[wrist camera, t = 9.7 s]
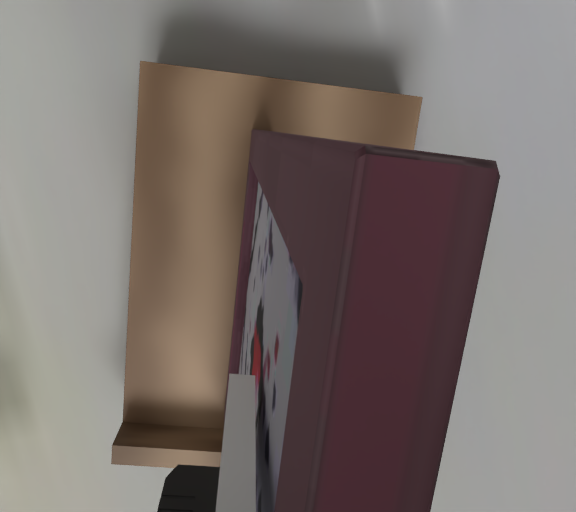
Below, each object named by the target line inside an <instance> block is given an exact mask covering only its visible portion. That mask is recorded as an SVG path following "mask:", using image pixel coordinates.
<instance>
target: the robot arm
mask: <svg viewBox="0 0 576 512" xmlns="http://www.w3.org/2000/svg"><path fill="white" fill-rule="evenodd" d="M158 512H256V429H255V376H254V375H241V374H229V383H228V393H227V403H226V413H225V423H224V433H223V443H222V453H221V463H220V467H212V466H196V465H180V464H178V465H177V466H176V467H175V468H174V469H173V471H172V472H171V473H170V474H169V475H168V476H167V477H166V479H165V483H164V487H163V491H162V495H161V499H160V502H159V506H158Z"/></svg>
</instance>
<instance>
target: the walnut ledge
mask: <svg viewBox="0 0 576 512" xmlns="http://www.w3.org/2000/svg"><path fill="white" fill-rule="evenodd" d="M421 103H422V97H417V96H410V95H402V94H394V93H386V92H378V91H371V90H363V89H355V88H347V87H340V86H332V85H324V84H316V83H308V82H301V81H293V80H285V79H277V78H269V77H262V76H254V75H246V74H238V73H231V72H223V71H215V70H207V69H199V68H192V67H184V66H176V65H168V64H160V63H153V62H145V61H140V76H139V97H138V117H137V138H136V159H135V179H134V200H133V221H132V241H131V262H130V283H129V303H128V324H127V345H126V365H125V386H124V407H123V423H122V425H121V427H120V429H119V431H118V434H117V436H116V438H115V440H114V443H113V445H112V463H111V464H119V465H135V466H151V467H167V468H175V467H176V466H177V465H178V464H180V465H196V466H212V467H220V463H221V453H222V443H223V433H224V408H225V398H226V388H227V378H228V367H229V357H230V347H231V337H232V326H233V316H234V306H235V296H236V286H237V275H238V265H239V255H240V245H241V234H242V224H243V214H244V204H245V194H246V183H247V173H248V163H249V153H250V142H251V132H252V129H257V130H265V131H274V132H281V133H289V134H296V135H304V136H311V137H319V138H326V139H334V140H341V141H349V142H357V143H364V144H372V145H379V146H387V147H394V148H402V149H409V150H414V145H415V139H416V133H417V127H418V121H419V115H420V109H421Z"/></svg>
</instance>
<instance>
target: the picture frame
mask: <svg viewBox="0 0 576 512" xmlns="http://www.w3.org/2000/svg"><path fill="white" fill-rule="evenodd" d="M499 179H500V175H499V171H498V167H497V164H496V161H492V160H485V159H477V158H470V157H462V156H454V155H447V154H439V153H432V152H424V151H417V150H409V149H402V148H394V147H387V146H379V145H372V144H364V143H357V142H349V141H341V140H334V139H326V138H319V137H311V136H304V135H296V134H289V133H281V132H274V131H265V130H257V129H252V132H251V142H250V153H249V163H248V173H247V183H246V194H245V204H244V214H243V224H242V234H241V245H240V255H239V265H238V275H237V286H236V296H235V306H234V316H233V326H232V337H231V347H230V357H229V367H228V378H227V388H226V398H225V408H224V423H225V413H226V403H227V393H228V383H229V374H241V375H254V376H255V429H256V512H430V510H431V505H432V500H433V495H434V490H435V486H436V481H437V476H438V471H439V466H440V462H441V457H442V452H443V447H444V442H445V438H446V433H447V428H448V423H449V419H450V414H451V409H452V404H453V399H454V395H455V390H456V385H457V380H458V375H459V371H460V366H461V361H462V356H463V351H464V347H465V342H466V337H467V332H468V327H469V323H470V318H471V313H472V308H473V303H474V299H475V294H476V289H477V284H478V279H479V275H480V270H481V265H482V260H483V255H484V251H485V246H486V241H487V236H488V231H489V227H490V222H491V217H492V212H493V207H494V203H495V198H496V193H497V188H498V183H499Z"/></svg>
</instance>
